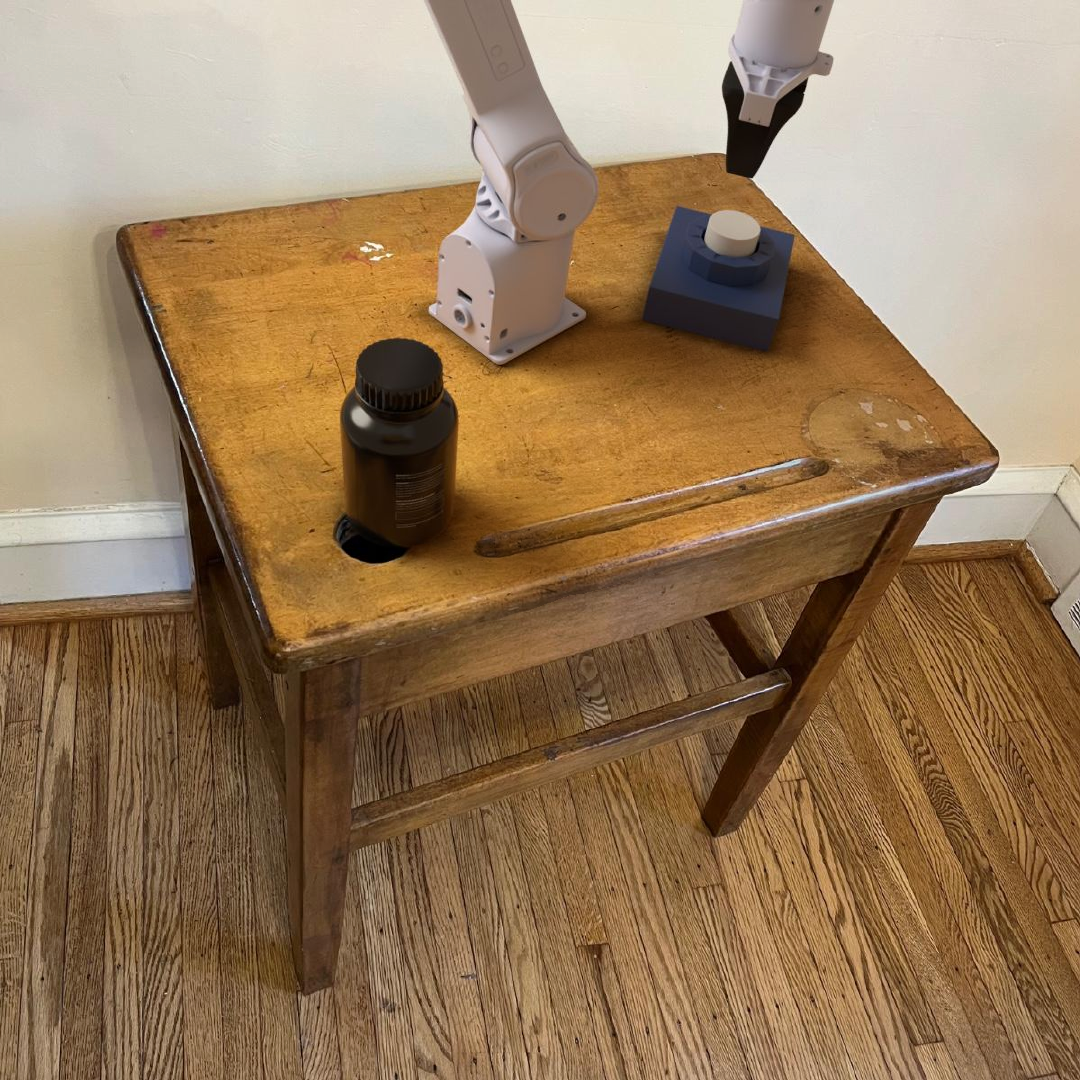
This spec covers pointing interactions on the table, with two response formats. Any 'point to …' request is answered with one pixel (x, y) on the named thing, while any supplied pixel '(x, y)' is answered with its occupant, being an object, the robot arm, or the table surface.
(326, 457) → the table surface
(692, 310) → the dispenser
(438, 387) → the supplement bottle
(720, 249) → the cylinder
